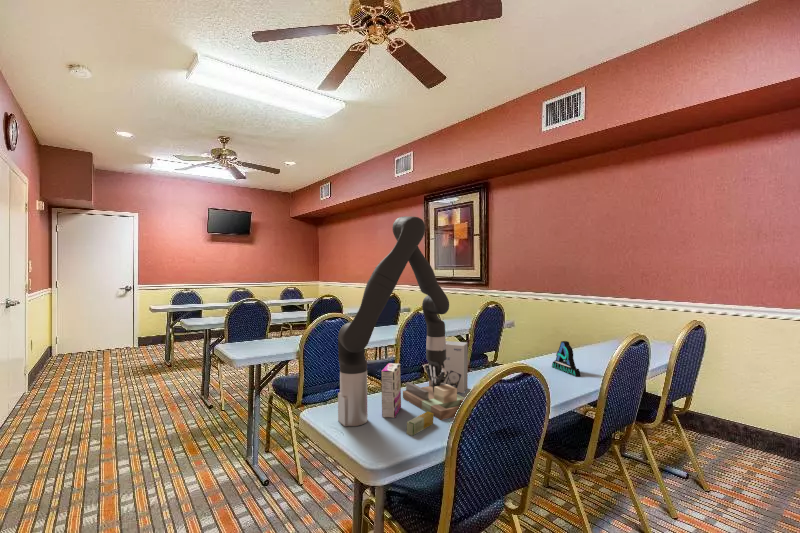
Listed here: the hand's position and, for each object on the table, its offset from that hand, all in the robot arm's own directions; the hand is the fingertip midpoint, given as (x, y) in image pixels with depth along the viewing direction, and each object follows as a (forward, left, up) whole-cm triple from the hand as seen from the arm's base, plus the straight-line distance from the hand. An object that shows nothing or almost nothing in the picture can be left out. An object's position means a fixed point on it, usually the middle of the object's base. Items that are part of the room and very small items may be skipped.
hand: (436, 392), depth 153 cm
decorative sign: (+81, +6, -5) cm, 81 cm away
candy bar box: (-19, +1, -4) cm, 20 cm away
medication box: (-18, -17, -5) cm, 25 cm away
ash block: (0, -6, -1) cm, 6 cm away
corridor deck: (0, -1, -4) cm, 4 cm away
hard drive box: (+15, +13, -4) cm, 20 cm away
